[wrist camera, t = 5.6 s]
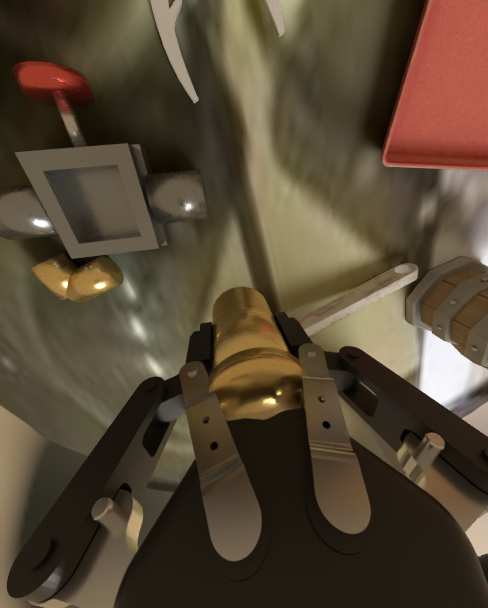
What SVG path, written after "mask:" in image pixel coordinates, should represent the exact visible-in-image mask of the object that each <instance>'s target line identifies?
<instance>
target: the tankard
mask: <svg viewBox="0 0 488 608" xmlns="http://www.w3.org/2000/svg"><path fill="white" fill-rule="evenodd" d="M406 321H407V322H408V323H410V324H411V325H413V326H416V327H419V328H423V329H426V330H429V331H432V333H433V334H434V335H436V336H437V337H439V338H440V339H442V340H444V341H446V342H449V343H451V344H452V345H453V346H454V347H455V348H456V349H457V350H458V351H459V352H460V353H461V354H462V355H463V356H465V357H466V358H468V359H469V360H471V361H472V362H473V363H475V364H478V365H480V366H482V367H484V368H487V369H488V266H486V265H484V264H482V263H480V262H478V261H476V260H474V259H472V258H468V257H465V256H461V257H459V258H457V259H455V260H452V261H450V262H448V263H445V264H443V265H441V266H439V267H436V268H434V269H432V270H430V271H428V272H427V273H426V275H425V276H424V277H423V278H422V280H421V281H420V282H419V283H418V284H417V286H416V287H415V288H414V289H413V291H412V292H411V293H410V294H409V296H408V297H407V298H406Z"/></svg>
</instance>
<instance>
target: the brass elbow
mask: <svg viewBox="0 0 488 608" xmlns="http://www.w3.org/2000/svg"><path fill="white" fill-rule="evenodd" d="M28 271H29V272H30V273H31V274H32V275H33V276H34V277H36V278H37V279H38V280H39V281H40V282H41V283H42V284H44V285H45V286H46V287H47V288H48V289H49V290H50V291H52V292H53V293H54V294H55V295H56V296H57V297H58V298H59V299H61V300H64V299H66V298H69V299H71V300H72V301H74V302H78V303H85V302H87V301H89V300H91V299H93V298H95V297H97V296H99V295H101V294H103V293H105V292H106V291H108V290H110V289H112V288H114V287H116V286H118V285H120V284H122V282H123V274H122V272H121V270H120V269H119V267H118V266H117V265H116V264H115V263H114V262H113V261H112V260H111V259H109V258H107V257H104V256H100V257H98V258H96V259H94V260H92V261H90V262H88V263H87V264H85V265H83V266H81V267H79V268H78V267H77V266H76V265H75V264H74V263H73V262H72V261H71V260H70V259H69V258H68V257H67V256H66V255H65V254H64V253H61V254H59V255H56V256H54V257H52V258H50V259H48V260H46V261H44V262H42V263H40V264H38V265H37V266H35V267H33V268H31V269H30V270H28Z"/></svg>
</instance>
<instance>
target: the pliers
mask: <svg viewBox="0 0 488 608" xmlns="http://www.w3.org/2000/svg"><path fill="white" fill-rule="evenodd" d="M263 1H264V3H265V5H266V8H267V10H268V12H269V15H270V17H271V19H272V22H273V24H274V27H275V29H276V32H277V35H278V37H280V36H281V35H282V34H283V33H284V31H285V30H284V24H283V19H282V13H281V8H280V4H279V0H263ZM181 4H182V0H175V1H174V3H173V4H172V6H171V8H170V9H169V3H168V0H151V5H152V9H153V13H154V17H155V20H156V24H157V27H158V31H159V34H160V37H161V40H162V43H163V46H164V49H165V51H166V53H167V56H168V58H169V61H170V63H171V65H172V67H173V69H174V71H175V73H176V75H177V77H178V79H179V81H180V83H181V84H182V86H183V87H184V89H185V91H186V92H187V94H188V95H189V97H190V98H191V100H192V101H193V102H194V104H195V103H196V102H197V101H199V100H198V97H197V95H196V92H195V90H194V88H193V85H192V83H191V80H190V77H189V75H188V72H187V69H186V67H185V64H184V61H183V59H182V55H181V52H180V49H179V45H178V42H177V38H176V35H175V31H174V28H175V22H176V18H177V16H178V13H179V10H180V8H181Z"/></svg>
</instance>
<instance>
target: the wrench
mask: <svg viewBox="0 0 488 608" xmlns="http://www.w3.org/2000/svg"><path fill="white" fill-rule="evenodd" d="M403 273H405V274H403ZM417 278H418V266H417V265H415V264H411V263H404V264H400V265H398V266H396V267H393V268H391V269H390V270H388V271H386V272H384V273H382V274H380V275H378V276H377V277H375V278H373V279H371V280H369V281H368V282H366V283H364V284H362V285H360V286H358V287H356V288H355V289H353V290H351V291H349V292H347V293H345V294H343V295H342V296H340V297H338V298H336V299H334V300H332V301H330V302H329V303H327V304H325V305H323V306H321V307H319V308H318V309H316V310H314V311H312V312H310V313H308V314H306V315H304V316H303V317H301V318H299V319H297V321H299V323H300V324H301V327H302V328H303V329H304V331H305V332H306V334H307V335H308V337H309V336H311V335H312V334H314V333H316V332H318V331H320V330H322V329H324V328H326V327H328V326H330V325H331V324H333V323H335V322H337V321H339V320H341V319H343V318H345V317H347V316H349V315H350V314H352V313H354V312H356V311H358V310H360V309H362V308H364V307H366V306H368V305H369V304H371V303H373V302H375V301H377V300H379V299H381V298H383V297H385V296H387V295H388V294H390V293H392V292H394V291H396V290H398V289H400V288H402V287H404V286H406V285H407V284H409V283H411V282H413V281H415V280H416V279H417Z"/></svg>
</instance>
